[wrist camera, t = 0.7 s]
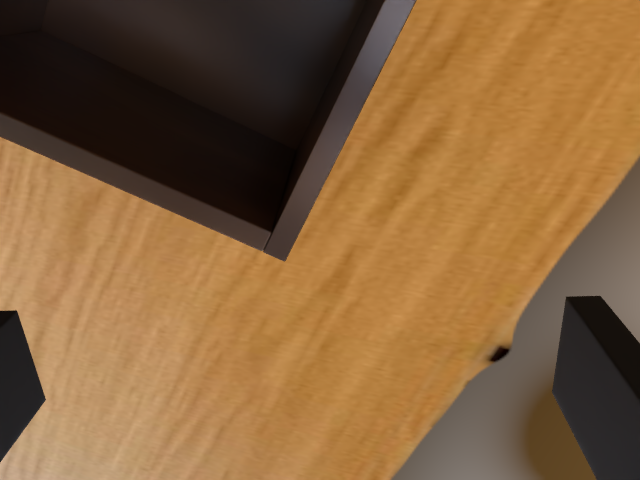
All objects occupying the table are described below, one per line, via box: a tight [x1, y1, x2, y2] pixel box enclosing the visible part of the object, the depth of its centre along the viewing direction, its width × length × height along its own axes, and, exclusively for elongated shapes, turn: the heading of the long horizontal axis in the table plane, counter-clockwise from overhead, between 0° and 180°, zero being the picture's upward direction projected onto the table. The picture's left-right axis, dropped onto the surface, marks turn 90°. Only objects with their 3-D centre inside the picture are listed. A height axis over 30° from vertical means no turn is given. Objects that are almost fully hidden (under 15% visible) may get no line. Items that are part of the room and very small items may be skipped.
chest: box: [0, 0, 416, 261], centre depth 25 cm, size 13×18×14 cm
